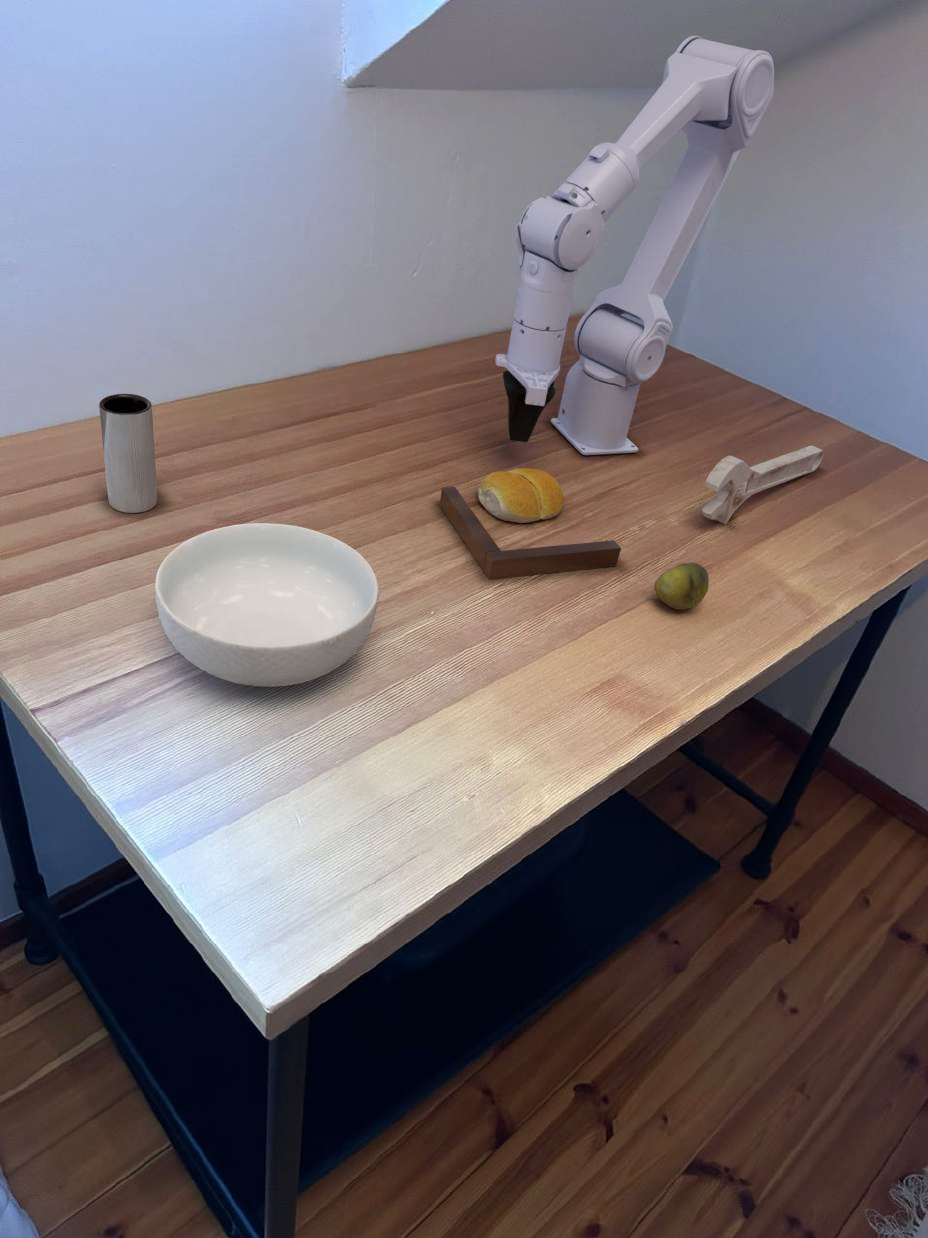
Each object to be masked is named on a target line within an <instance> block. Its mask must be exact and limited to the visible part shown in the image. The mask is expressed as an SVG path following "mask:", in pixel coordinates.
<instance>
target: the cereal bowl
mask: <svg viewBox="0 0 928 1238" xmlns="http://www.w3.org/2000/svg"><path fill="white" fill-rule="evenodd" d="M154 593H155V602H156V610H157V612H158V619H159V620H160V625H161V627H162V628H163V631H164V633H165V635H166V636H167V638H168V640H169V641H170V643H171V644H172V645H173V647H174V648H175V649H176V650H177V652H178V653H179V654H180V655H182V656H183V657H184V659H186V660H187V661H189V662H190V663H191V664H192V665H194V666H195V667H197V668H198V669H200V670H201V671H204V672H206V673H207V674H209V675H211V676H214V677H216V678H218V679H222V680H225V681H228V682H232V683H234V684H239V685H244V686H252V687H254V686H255V687H267V688H268V687H275V688H276V687H284V686H285V687H286V686H291V685H292V686H293V685H297V684H302V683H306V682H311V681H313V680H314V679H315V680H316V679H318V678H320V677H321V678H322V677H323V676H325V675H328V674H329V673H331V672H332V671H335V670H336V669H337V668H340V667H341V666H342V665H343V664H345V663H346V662H348V661H349V660H350V658H352V657H353V656H354V655H355V654H356V652H358V651H359V649H360V648H361V646H362V645H363V644H364V643H365V641H366V638H367V637H368V636H369V633H370V630H372V626H373V623H374V621H375V616H376V614H377V609H378V608H377V607H378V604H379V597H380V588H379V582H378V578H377V576H376V574H375V571H374V569H373V568H372V566H371V565H370V562H368V561H367V559H365V557H364V556H363V555H362V554H361V553H359V551H357V550H355V549H354V548H353V547H352V546H351V545H349V544H347V543H345V542H344V541H342V540H340V539H337V538H335V536H334V537H333V536H331V535H328V534H326V533H323V532H320V531H317V530H314V529H311V528H307V527H303V526H299V525H292V524H283V523H271V522H270V523H268V522H267V523H266V522H259V523H258V522H257V523H253V522H252V523H251V522H250V523H240V524H233V525H228V526H221V527H218V528H214V529H211V530H207V531H205V532H202V533H199V534H197V535H194V536H193V537H191V538H188V539H187V540H185V541H184V542H182V543H181V544H179V545H177V546H176V547H175V548H174V549H173V550H171V552H169V553H168V554H167V555H166V557H165V558H164V559H163V561H162V562H161V563H160V565H159V567H158V569H157V572H156V576H155V580H154Z"/></svg>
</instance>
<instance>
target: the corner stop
mask: <svg viewBox="0 0 928 1238" xmlns="http://www.w3.org/2000/svg"><path fill="white" fill-rule="evenodd" d="M439 507H440V508H441V510H442V511H443V513H444V514H445V516H446V517H447V519H448V521H449V522H450V523H451V525H452V527H453V528H454V529H455V531H456V532H457V534H458V535H459V537H460V539H461V540H462V541H463V543H464V544H465V546H466V547H467V548H468V550H469V552H470V554H472V556H473V558H474V560H475V561H476V562H477V564H478V566H479V567H480V568H481V569H482V571H483V572H484V574H485V575H486V577H487V579H488V580H497V579H498V580H499V579H508V578H517V577H525V576H526V577H527V576H537V575H546V574H554V573H565V572H572V571H573V572H575V571H585V570H592V569H602V568H603V569H604V568H611V567H612V568H613V567H616V566H617V564H618V561H619V557H620V554H621V550H622V548H621V546H620V545H619V544H618V542H616V540H614V539H613V540H602V541H601V540H600V541H592V542H581V543H572V544H571V543H570V544H560V545H559V544H558V545H549V546H538V547H528V548H526V547H525V548H517V549H506V550H501V549H500V547H499V546H498V544H496V542H495V540H494V538H493V537H492V536H491V535H490V534H489V532H488V530H487V529H486V528H485V527H484V525H483V524H482V522H481V521H480V519H479V518H478V517H477V515H476V514H475V512H474V511H473V509H472V508H471V507H470V506H469V504H468V503H467V501H466V500H465V498H464V497H463V496H462V494H461V493H460V491H459V490H458V488H456V486H444V487H441V491H440V500H439Z"/></svg>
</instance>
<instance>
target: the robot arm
mask: <svg viewBox="0 0 928 1238" xmlns="http://www.w3.org/2000/svg"><path fill="white" fill-rule="evenodd" d="M774 90H775V66H774V60H773V57H772V55H771V54H770V53H769V52H768V51H767V50H761V49H756V50H754V49H750V48H745V47H741V46H738V45H737V46H736V45H732V44H728V43H723V42H719V41H714V40H709V39H705V38H703V37H702V36H701V35H700V36H699V35H691V36H688V37H687V38H685V39H684V40H683V41H681V43H680V44H679V46H678V47H677V49H676V50H675V52H674V53H673V54H671V55H670V56H669V57H668V58H667V59H666V62H665V66H664V71H663V76H662V83H661V85H660V86H659V87H658V88H657V90H656V91H655V92H654V93H653V95H652V96H651V97H650V99H649V100H648V101H647V102H646V104H645V105H644V106H643V107H642V109H641V110H640V111H639V113H638V114H637V115H636V116H635V118H634V119H633V120H632V122H631V123H630V124H629V125H628V127H627V128H626V129H625V130H624V132H623V133H622V134H621V136H620V137H619V138H618V139H617V141H616V142H614V143H612V142H601V143H599V144H597V145H595V146H594V147H593V148H592V149H591V150H590V152H588V155H587V156H586V157H585V159H583V161H582V162H581V163H580V164H579V165H578V166H577V167H576V168H575V169H574V170H573V171H572V173H571V174H570V175H569V176H567V178H566V179H565V180H564V181H563V182H562V183H561V185H560V186H559V187H557V189H556V190H555V191H554V192H553V193H552V194H551V195H545V196H544V197H541V196H540V197H539V198H538V199H535V200H533V201H532V202H530V203H529V204H528V205H527V206H526V207H525V209H524V210H523V213H522V215H521V217H520V220H519V223H516V224H515V232H514V233H515V234H514V235H515V242H516V244H517V247H518V249H519V256H518V262H517V265H519V269H520V280H519V284H518V289H517V290H518V291H517V295H516V302H515V308H514V314H513V319H512V324H511V332H510V337H509V343H508V349H507V353H506V354H505V353H504V354H503V353H497V354H496V355H495V359H494V360H495V365H496V366H497V367H500V368H505V369H506V370H505V371H503V372H502V377H503V387H504V389H505V393H506V396H507V402H508V403H507V405H508V406H507V407H508V409H507V412H508V413H507V416H508V417H507V424H508V425H507V426H508V436H509V440H510V441H513V442H522V443H528V442H529V440H530V438H531V436H532V434H533V432H534V429H535V427H536V424H537V422H538V420H539V418H540V416H541V414H542V412H543V411H544V409H545V408H546V406H547V405H548V404H549V403H550V402H551V401H552V400H553V399H554V397H555V394H556V388H555V386H554V384H555V380H556V378H557V377H558V376H559V374H560V371H561V364H560V362H561V357H562V351H563V347H564V342H565V337H566V332H567V328H568V322H569V318H570V313H571V308H572V302H573V297H574V294H575V289H576V283H577V279H578V274H579V269H580V268H582V266H584V265H585V264H586V263H587V262H589V261H590V260H591V258H592V257H593V255H594V253H595V252H596V249H597V247H598V243H599V240H600V237H601V236H602V234H603V233H604V232H605V229H606V222H607V221H608V220H609V219H610V218H611V217H612V216H613V215H614V214H615V213H616V212H617V210H618V209H619V208H620V207H621V206H622V205H623V204H624V203H625V202H626V201H627V200H628V198H630V196H632V194H634V192H635V191H636V190H637V188H638V187H639V184H640V170H641V169H640V168H641V167H642V166H643V165H644V164H645V163H647V162H648V161H649V160H650V159H651V158H652V157H653V156H654V155H656V153H657V152H659V150H661V149H662V148H663V147H664V146H665V145H666V144H668V142H669V141H670V140H672V139H673V137H674V136H675V135H677V134H678V133H679V132H680V131H682V132H683V134H685V135H686V138H687V144H688V147H687V150H686V152H685V153H684V155H683V157H682V160H681V162H680V164H679V166H678V168H677V170H676V172H675V174H674V176H673V179H672V180H671V182H670V184H669V187H667V191H666V192H665V195H664V197H663V199H662V201H661V203H660V205H659V207H658V209H657V211H656V213H655V215H654V217H653V219H652V221H651V223H650V225H649V227H648V228H647V232H646V233H645V235H644V238H643V239H642V241H641V244H640V245H639V248H638V250H637V252H636V254H635V256H634V257H633V260H632V262H631V263H630V266H629V268H628V270H627V272H626V273H625V274H626V275H625V276H624V278H623V280H622V282H620V283H619V284H616V285H614V286H611V287H608V288H606V289H604V290H601V291H600V292H598V293H597V296H596V297H595V299H594V302H593V303H592V305H591V306H590V308H589V309H588V310H587V311H586V312H585V313H584V314H583V315H582V317H581V318H580V319H579V321H578V323H577V325H576V328H575V331H574V336H573V347H574V350H575V352H576V354H577V355H578V356H579V360H577V361H576V362H575V363H574V364H573V365H572V366H571V368H570V369H569V371H568V372H567V374H566V377H565V380H564V385H563V391H562V396H561V399H560V405H559V410H558V414H557V417H552V418H550V423H551V424H552V425H553V426H554V427H555V428H556V429H557V431H558V432H559V433H560V434H561V435H562V436H564V438H565V439H566V440H567V441H568V442H569V443H570V444H571V445H572V446H573V447H574V448H575V449H576V450H577V451H578V452H579V454H581V455H582V456H598V455H599V456H600V455H617V454H634V453H638V452H639V448H638V446H637V445H635V443H634V442H632V441H631V440H630V439H629V438H628V433H629V430H630V427H631V422H632V418H633V415H634V411H635V407H636V403H637V400H638V395H639V392H640V388H641V384H643V383H646V382H647V381H648V380H649V379H651V378H652V377H653V376H654V375H655V374H656V373H657V371H658V370H659V369H660V367H661V365H662V363H663V361H664V358H665V355H666V350H667V349H666V348H667V345H668V342H669V339H670V338H671V334H672V333H673V331H674V325H673V323H672V320H671V318H670V316H669V313H668V311H667V309H666V306H665V304H664V303H665V300H666V298H667V296H668V295H669V292H670V290H671V288H672V286H673V284H674V282H675V280H676V278H677V276H678V274H679V272H680V270H681V268H682V266H683V264H684V263H685V260H686V259H687V257H688V254H689V252H690V251H691V248H692V247H693V245H694V243H695V242H696V239H697V237H698V235H699V233H700V231H701V229H702V227H703V225H704V223H705V221H706V219H707V217H708V215H709V213H710V211H711V209H712V207H713V205H714V204H715V202H716V199H717V197H718V195H719V193H720V191H721V190H722V187H723V185H724V184H725V182H726V179H727V177H729V174H730V173H731V170H732V168H733V166H734V164H735V162H736V160H737V158H738V156H739V153H740V152H741V151H742V150H743V149H745V148H747V147H748V146H749V143H750V141H751V140H752V138H753V136H754V134H755V133H756V130H757V128H758V126H759V124H760V122H761V120H762V118H763V117H764V114H765V112H766V110H767V108H768V107H769V104H770V102H771V100H772V99H773V97H774V94H775V92H774ZM624 315H629V316H631V317H633V318H635V319H637V320H639V321H642V322H643V324H641V323H639V322H637V321H634V320H632V319H630V318H628V317H626V316H624Z"/></svg>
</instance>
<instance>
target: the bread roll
mask: <svg viewBox="0 0 928 1238" xmlns="http://www.w3.org/2000/svg"><path fill="white" fill-rule="evenodd" d="M477 495H478V501H479V502H480V504H481V505H482V506H483V507H484V508H485V510H486V511H487V512H489V514H491V515H492V516H494V517H496V518H497V519H499V520H502V521H505V522H511V523H518V524H523V523H533V522H536V521H540V520H549V519H552V518H554V517H556V516H558V515H559V514H560V512H561V511H562V509H563V505H564V493H563V490H562V487H561V486H560V483H559V482H558V481H557V480H556V478H555V477H554V476H553V475H551V474H550V473H548V472H547V471H545V470H542V469H539V468H538V469H537V468H530V467H529V468H528V467H525V468H524V467H516V468H512V469H510V470H508V471H493V472H490V473H488V475H487V476H486V477H484V478H483V480H482V481H481V482H480V484H479V487H478V489H477Z"/></svg>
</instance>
